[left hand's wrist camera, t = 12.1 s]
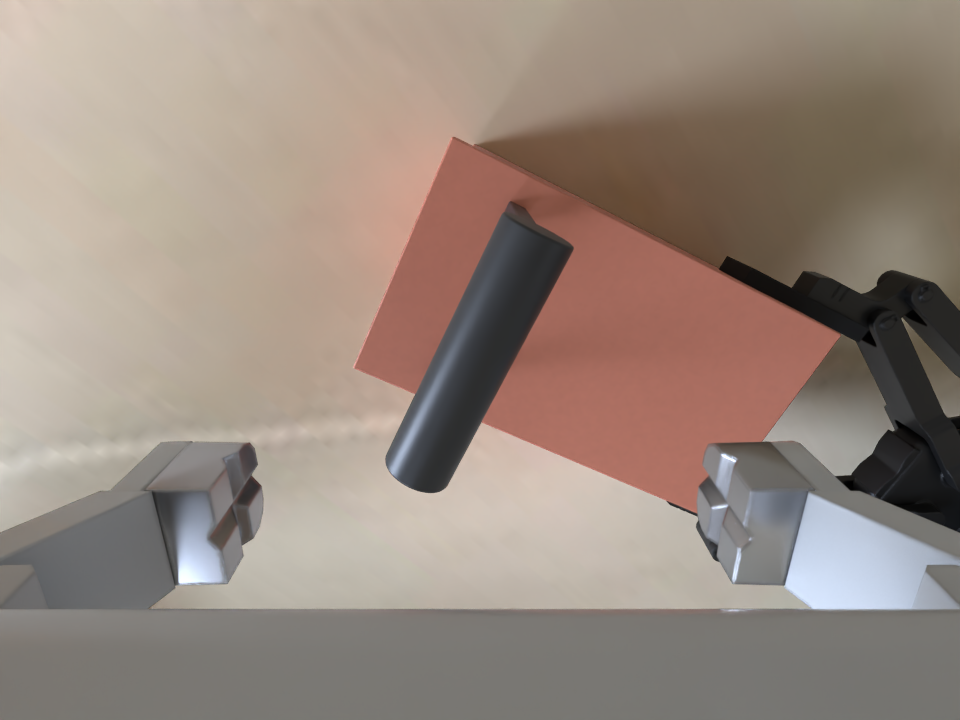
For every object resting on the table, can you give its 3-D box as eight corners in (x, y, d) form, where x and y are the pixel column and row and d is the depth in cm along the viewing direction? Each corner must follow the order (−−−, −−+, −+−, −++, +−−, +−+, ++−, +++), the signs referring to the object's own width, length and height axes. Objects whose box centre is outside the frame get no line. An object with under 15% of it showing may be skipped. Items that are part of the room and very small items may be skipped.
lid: (357, 359, 24) (295, 475, 16) (453, 135, 21) (438, 134, 13) (697, 504, 27) (796, 668, 19) (827, 326, 24) (1016, 428, 15)
